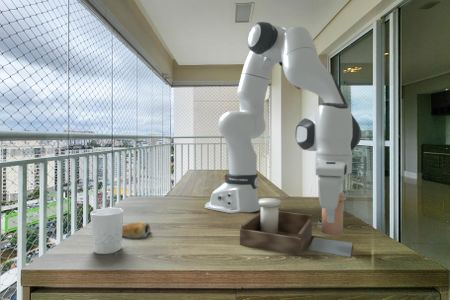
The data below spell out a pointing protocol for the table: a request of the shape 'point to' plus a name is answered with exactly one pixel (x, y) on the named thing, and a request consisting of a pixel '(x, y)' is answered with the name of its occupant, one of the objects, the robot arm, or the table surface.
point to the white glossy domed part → (269, 215)
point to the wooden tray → (279, 233)
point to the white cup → (107, 230)
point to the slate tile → (331, 247)
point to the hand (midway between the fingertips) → (332, 218)
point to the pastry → (136, 230)
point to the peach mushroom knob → (337, 226)
